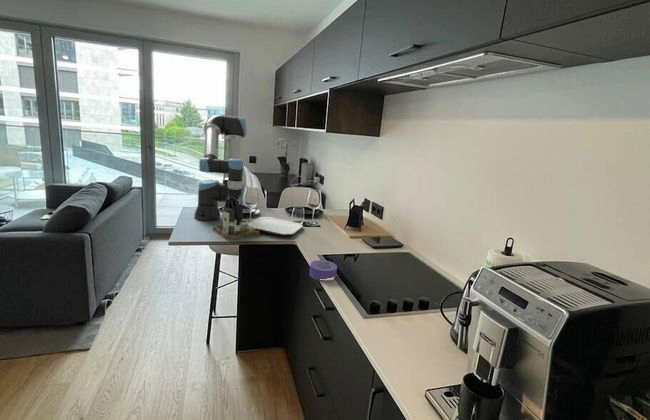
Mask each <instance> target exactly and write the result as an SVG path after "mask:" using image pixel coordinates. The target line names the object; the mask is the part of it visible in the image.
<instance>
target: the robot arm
mask: <svg viewBox="0 0 650 420" xmlns="http://www.w3.org/2000/svg"><path fill="white" fill-rule="evenodd" d="M203 132H204V148H203V157H200V158H199V165H198V166H199V168H198V170H199V172H201V173H202V172H203V173H208V174H209V173H210V174H211V173H214V174H225V176H224V179H222V182H220V181H219V180H218V179H206V180H202V181H200V182H199V183H198V189H197V190H198V192H197V193H198V194H197V196H198V197H197V207H196V209H195V212H194V217H193V218H194V219H196V220H198V221H203V222H214V221H218V220H220V219H221V213H220V208H219V203H224V207H223V208H225V207H228V208H231V207H233V208H234V211H237V212H236V213H235V217H236V218H235V226H234V231H239V230H240V219H242V220H243V219H244V216H243V214H242V209H243V197H244V192H245V184H244V183H243V175H244V173H243V172H244V160H243V159H241V154H242V153H241V150H242V141H243V140H244V139H245V137H246V136H247V124H246V120H245V118H244V117H240V116H233V115H225V114H215V115H213V116H211V117H209V118H208V120H206V122H205V123H204V125H203ZM220 135H224V139H225V140H226V152H225V155H226V156H225V158H226V159H219V137H220Z"/></svg>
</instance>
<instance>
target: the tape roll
mask: <svg viewBox="0 0 650 420" xmlns="http://www.w3.org/2000/svg"><path fill="white" fill-rule="evenodd" d="M337 271H338V265H337V264H336V263H334V262H332V261H330V260H323V259H317V260H313V261H311V262H310V267H309V277H310V278H312V279H314V280H316V281H319V282H321V281H320V279H327V278H332V277H334V276H335V275H336V276H337Z"/></svg>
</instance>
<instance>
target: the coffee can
mask: <svg viewBox="0 0 650 420" xmlns="http://www.w3.org/2000/svg"><path fill="white" fill-rule="evenodd" d="M224 207H225V206H224ZM224 207H223V209H222V210H223V216H222V217H223V218H222V225H223V229H222V231H223V232H225V233H226V234H228V235H232V234H240V233H242V231H241V229H242V222H243V219H240V230H239V231H234V226H235V218H236V217H235V213H236V212H237V211H234V208H233V207H231V208H228V207H225V208H224ZM243 213H244V208H242V214H243Z"/></svg>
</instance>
